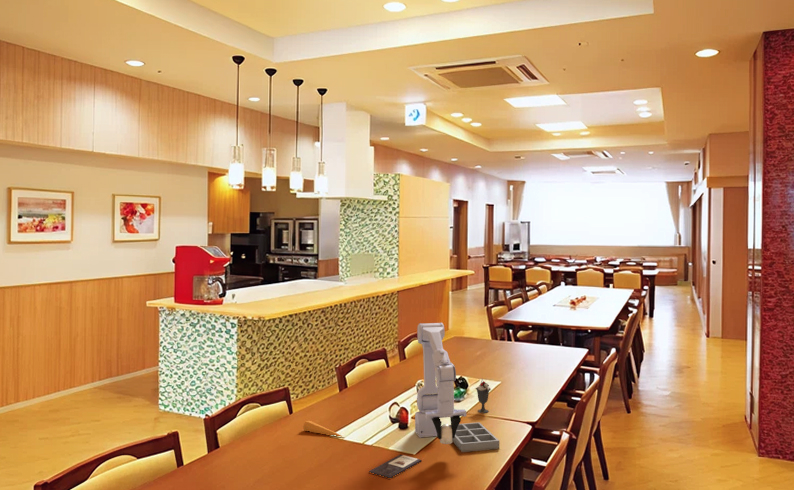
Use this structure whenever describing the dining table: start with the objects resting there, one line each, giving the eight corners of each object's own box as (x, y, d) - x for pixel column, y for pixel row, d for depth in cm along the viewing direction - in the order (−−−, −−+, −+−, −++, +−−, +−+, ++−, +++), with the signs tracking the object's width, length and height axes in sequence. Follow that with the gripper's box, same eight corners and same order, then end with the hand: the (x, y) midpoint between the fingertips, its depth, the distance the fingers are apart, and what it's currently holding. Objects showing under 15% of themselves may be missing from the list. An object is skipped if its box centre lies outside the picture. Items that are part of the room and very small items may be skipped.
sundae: (479, 414, 254) (479, 380, 254) (473, 409, 260) (472, 376, 260) (493, 412, 256) (493, 378, 255) (486, 408, 262) (486, 375, 262)
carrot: (302, 433, 235) (300, 424, 233) (309, 426, 239) (307, 417, 237) (343, 446, 225) (341, 437, 224) (349, 438, 229) (348, 429, 227)
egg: (441, 444, 203) (441, 426, 203) (438, 440, 207) (438, 422, 207) (454, 443, 204) (453, 425, 204) (450, 439, 208) (450, 421, 208)
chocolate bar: (368, 471, 193) (400, 454, 208) (368, 474, 193) (400, 457, 208) (390, 477, 188) (421, 459, 202) (390, 480, 188) (421, 462, 202)
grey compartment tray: (461, 452, 211) (461, 443, 210) (444, 432, 231) (444, 425, 231) (499, 448, 213) (499, 440, 213) (479, 429, 234) (479, 422, 234)
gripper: (428, 404, 200) (429, 443, 200) (469, 401, 203) (469, 439, 203) (423, 398, 207) (423, 436, 207) (462, 395, 210) (463, 433, 210)
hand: (446, 437), depth 206 cm, fingers closed on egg, 4 cm apart
